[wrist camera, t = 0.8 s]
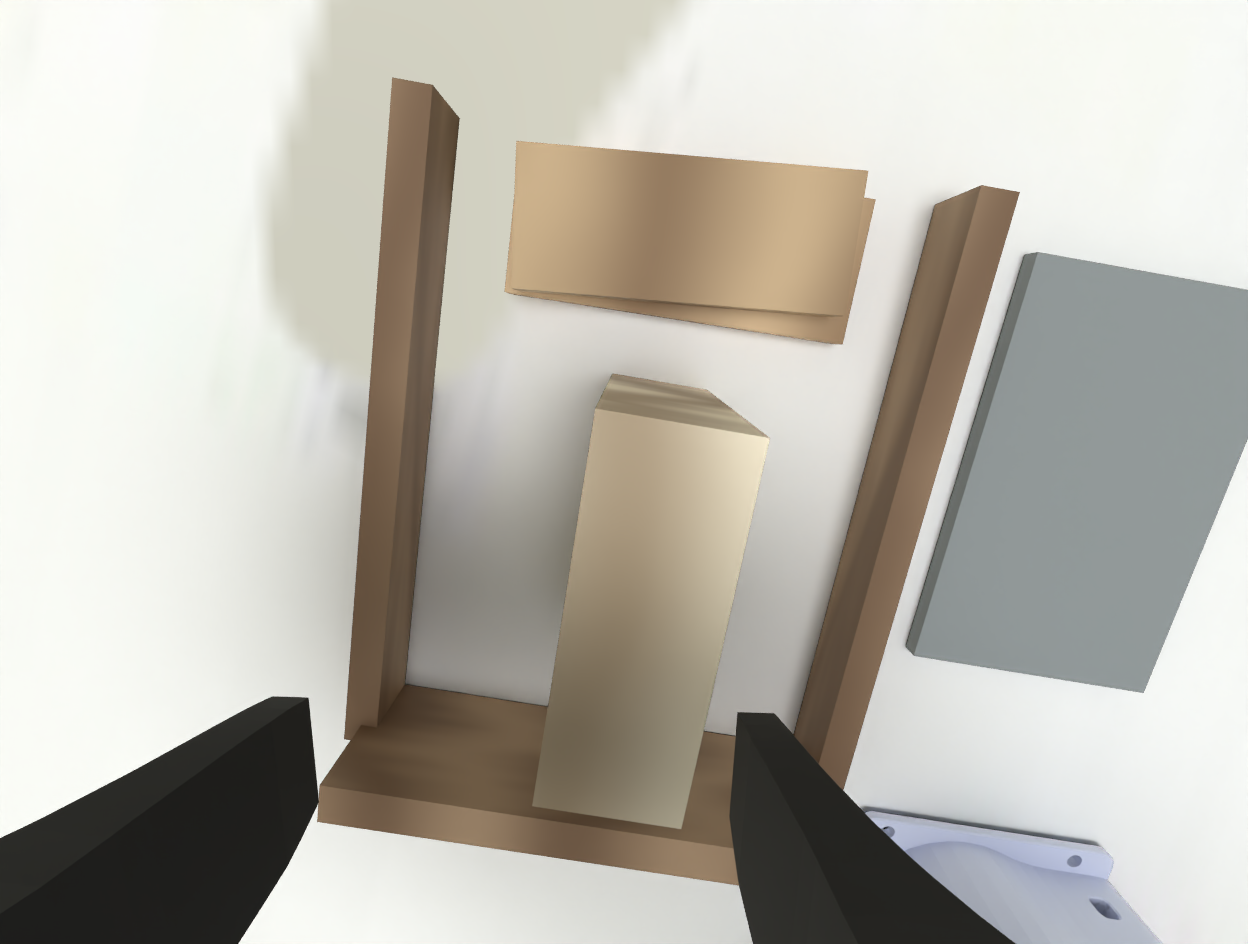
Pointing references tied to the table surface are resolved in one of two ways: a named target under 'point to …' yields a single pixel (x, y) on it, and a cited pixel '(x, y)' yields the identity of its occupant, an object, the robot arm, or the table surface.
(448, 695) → the walnut rack
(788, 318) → the lower oak offcut
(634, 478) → the light wood block
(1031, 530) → the slate mat
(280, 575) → the table surface
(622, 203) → the upper oak offcut
